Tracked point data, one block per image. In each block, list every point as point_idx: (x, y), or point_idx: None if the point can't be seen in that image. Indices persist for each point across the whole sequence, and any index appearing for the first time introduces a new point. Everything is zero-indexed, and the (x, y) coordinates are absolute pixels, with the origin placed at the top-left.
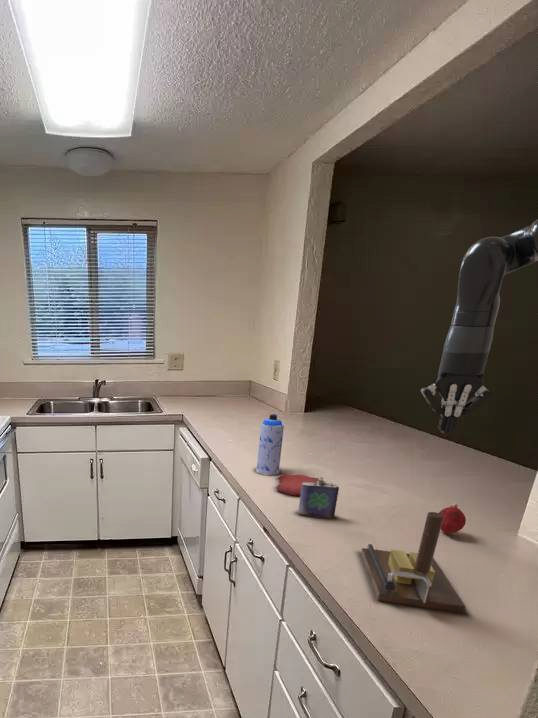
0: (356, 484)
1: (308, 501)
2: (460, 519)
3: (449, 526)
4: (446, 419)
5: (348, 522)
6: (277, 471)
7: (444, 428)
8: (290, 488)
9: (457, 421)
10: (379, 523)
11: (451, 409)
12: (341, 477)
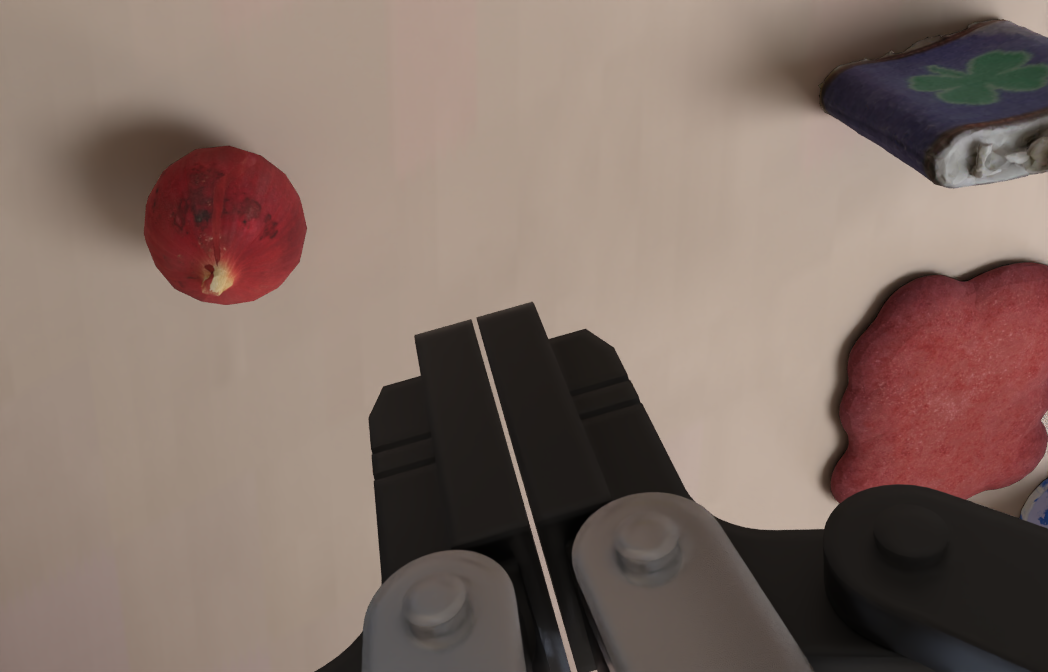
0: None
1: (1031, 53)
2: (171, 193)
3: (226, 149)
4: (599, 475)
5: (745, 58)
6: (1042, 503)
7: (551, 352)
8: (1033, 301)
9: (378, 519)
10: (580, 136)
11: (629, 665)
12: None
